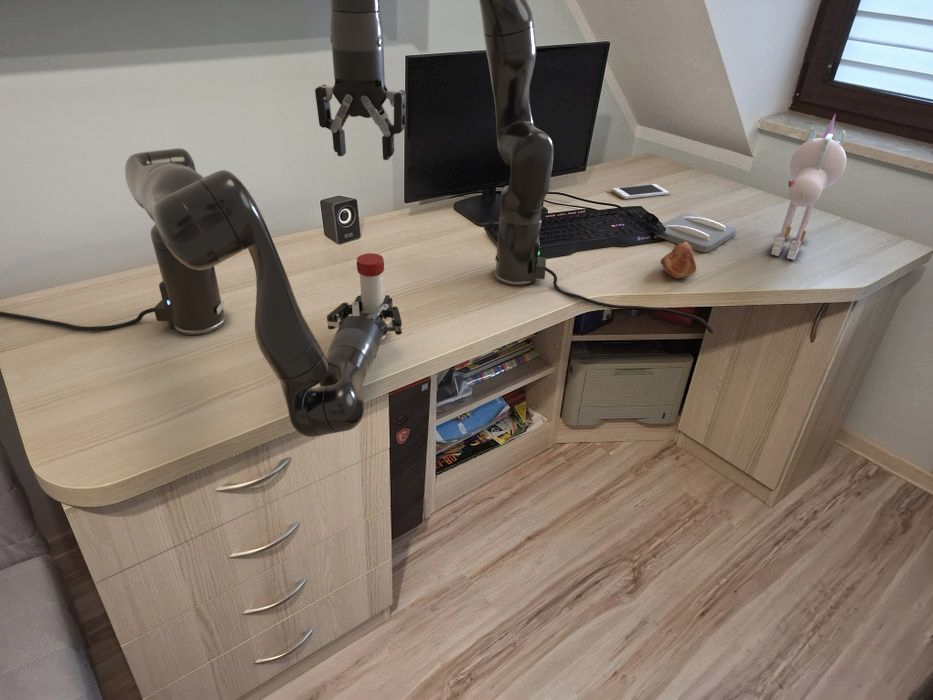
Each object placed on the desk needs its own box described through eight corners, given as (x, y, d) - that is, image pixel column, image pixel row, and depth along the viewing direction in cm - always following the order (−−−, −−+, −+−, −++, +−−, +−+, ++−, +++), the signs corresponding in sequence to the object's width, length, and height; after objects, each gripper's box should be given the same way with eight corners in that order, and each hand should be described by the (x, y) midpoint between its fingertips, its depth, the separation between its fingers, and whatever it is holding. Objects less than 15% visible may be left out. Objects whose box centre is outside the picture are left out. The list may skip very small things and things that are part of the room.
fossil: (669, 273, 140) (675, 228, 140) (641, 275, 147) (646, 232, 147) (707, 283, 147) (712, 240, 147) (678, 285, 154) (683, 244, 154)
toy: (826, 222, 178) (867, 110, 161) (806, 269, 152) (852, 142, 135) (779, 212, 183) (814, 103, 167) (751, 256, 157) (789, 132, 141)
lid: (357, 277, 112) (356, 265, 111) (357, 265, 116) (356, 253, 115) (384, 276, 113) (384, 264, 111) (383, 264, 117) (383, 252, 115)
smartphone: (611, 191, 194) (612, 187, 193) (654, 186, 199) (655, 183, 198) (624, 199, 188) (625, 196, 188) (668, 194, 193) (668, 191, 193)
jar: (364, 342, 120) (358, 266, 111) (363, 331, 123) (358, 256, 115) (385, 341, 121) (382, 265, 112) (384, 330, 124) (381, 255, 115)
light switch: (708, 241, 156) (653, 223, 165) (705, 253, 158) (650, 234, 167) (740, 223, 167) (687, 206, 176) (737, 234, 169) (684, 217, 178)
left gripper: (395, 332, 104) (412, 283, 118) (310, 325, 105) (337, 278, 119) (397, 369, 108) (413, 318, 122) (314, 363, 109) (340, 312, 123)
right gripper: (411, 44, 96) (413, 154, 105) (320, 38, 98) (329, 146, 107) (398, 51, 90) (401, 167, 99) (301, 45, 92) (313, 160, 101)
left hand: (375, 298), depth 121 cm, fingers closed on jar, 4 cm apart
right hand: (364, 156), depth 103 cm, fingers open, 7 cm apart
